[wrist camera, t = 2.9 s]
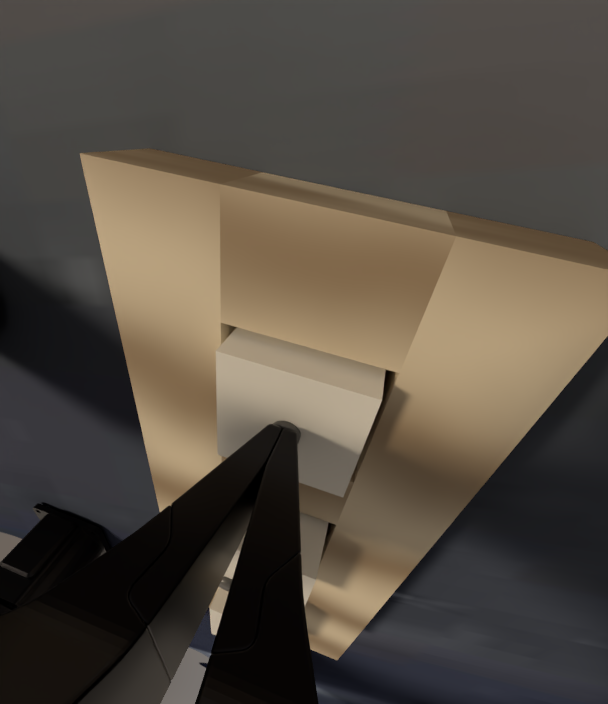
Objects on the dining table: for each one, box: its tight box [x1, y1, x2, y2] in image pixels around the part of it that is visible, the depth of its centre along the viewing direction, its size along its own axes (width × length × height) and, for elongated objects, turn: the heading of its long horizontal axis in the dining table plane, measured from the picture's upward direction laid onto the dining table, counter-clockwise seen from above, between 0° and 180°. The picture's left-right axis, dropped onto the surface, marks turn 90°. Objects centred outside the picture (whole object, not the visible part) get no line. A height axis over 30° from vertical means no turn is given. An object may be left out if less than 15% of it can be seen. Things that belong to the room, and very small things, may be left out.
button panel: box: [80, 149, 608, 660], centre depth 16 cm, size 28×12×2 cm, turn 171°
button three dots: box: [219, 512, 329, 605], centre depth 14 cm, size 4×4×3 cm
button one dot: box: [216, 327, 386, 497], centre depth 11 cm, size 4×4×3 cm
